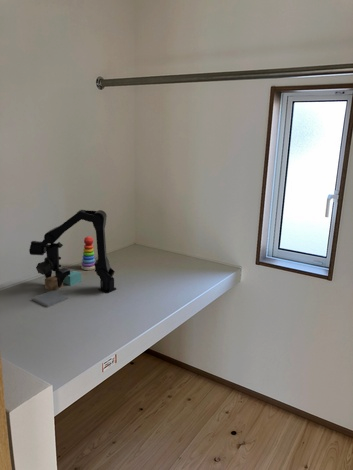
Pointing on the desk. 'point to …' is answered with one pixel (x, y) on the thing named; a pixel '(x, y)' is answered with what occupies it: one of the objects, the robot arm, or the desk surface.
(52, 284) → the walnut brick
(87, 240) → the stacking toy
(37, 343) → the desk surface
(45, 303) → the baseplate
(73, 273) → the teal brick
